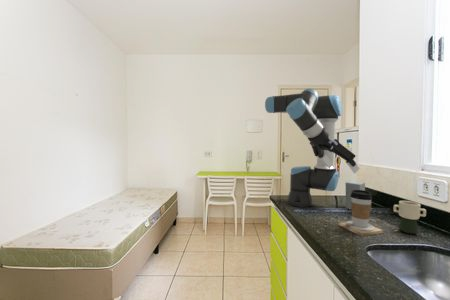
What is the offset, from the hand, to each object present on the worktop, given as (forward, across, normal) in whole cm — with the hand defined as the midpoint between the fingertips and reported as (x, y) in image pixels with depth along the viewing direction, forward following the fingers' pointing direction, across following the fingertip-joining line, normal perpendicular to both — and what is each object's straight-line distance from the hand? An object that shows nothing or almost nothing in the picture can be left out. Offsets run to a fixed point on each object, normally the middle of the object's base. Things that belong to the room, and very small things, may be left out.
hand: (343, 168), depth 93 cm
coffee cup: (+26, 0, -11) cm, 28 cm away
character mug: (+40, +8, +1) cm, 41 cm away
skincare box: (+43, -23, +3) cm, 49 cm away
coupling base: (+27, 0, -12) cm, 29 cm away
